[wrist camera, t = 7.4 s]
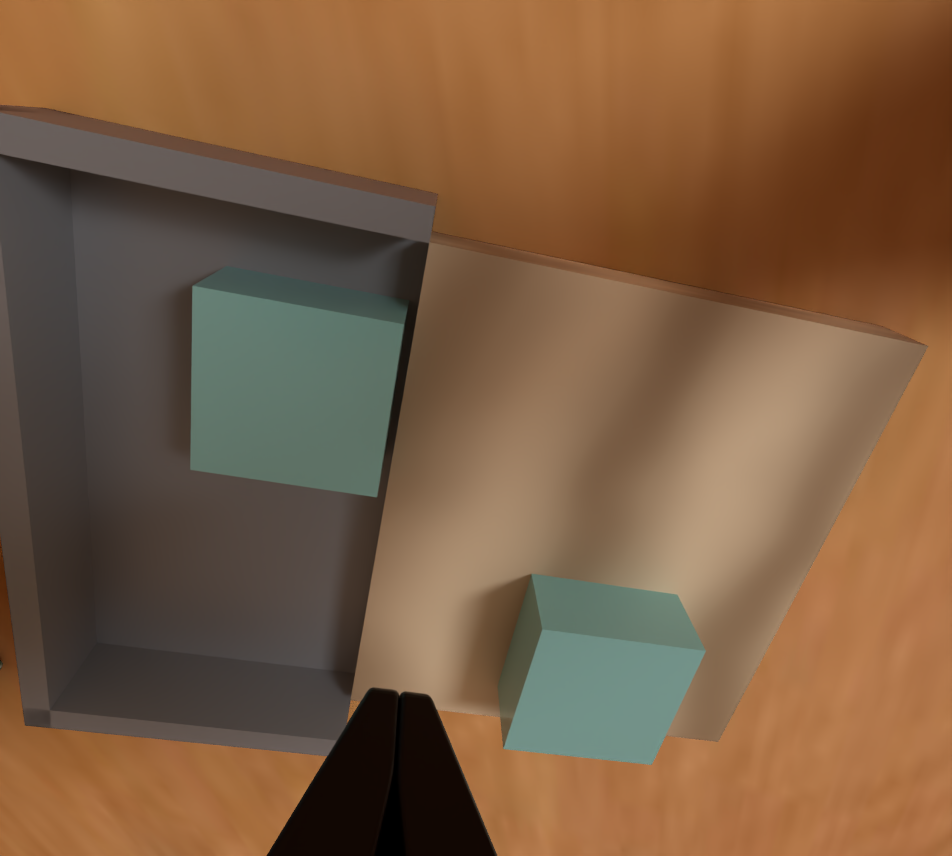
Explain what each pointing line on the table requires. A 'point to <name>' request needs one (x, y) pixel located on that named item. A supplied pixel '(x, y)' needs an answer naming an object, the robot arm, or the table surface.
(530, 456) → the bench plate
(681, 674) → the tile
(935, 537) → the table surface
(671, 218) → the table surface
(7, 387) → the tray
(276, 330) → the tile
